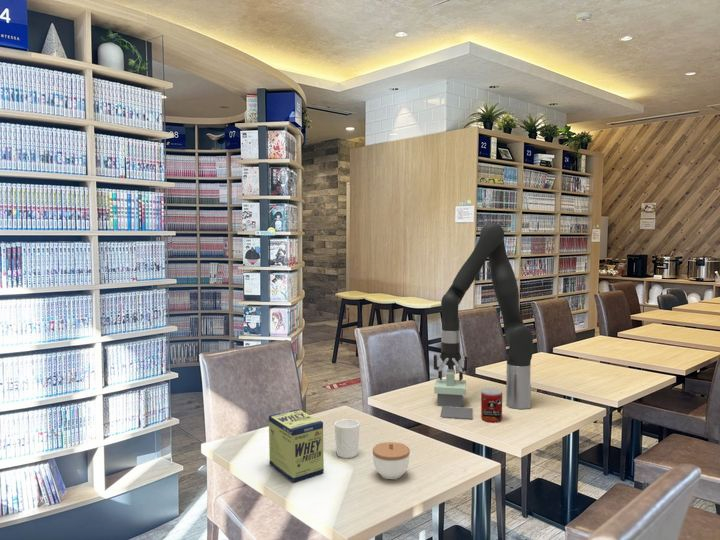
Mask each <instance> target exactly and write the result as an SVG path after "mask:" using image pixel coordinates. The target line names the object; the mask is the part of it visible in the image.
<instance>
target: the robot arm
mask: <svg viewBox="0 0 720 540" xmlns="http://www.w3.org/2000/svg"><path fill="white" fill-rule="evenodd" d="M487 260H488V262H489V271H490V272H489V273H490V278H491V283H492V287H493V291H494V293H495V298H496V299H497V300H496V301H497V304H498V306H499V309H500V313H501V317H502V322H503V330H504V336H505V339H506V341H507V342H508V355H507V356H506V385H505V386H506V393H505V394H506V398H505V399H506V400H505V401H506V402H505V403H506V404H505V405H506V406H507V407H509V408H511V409H517V410H526V409H532V408H531V407H532V406H531V405H532V404H531V403H532V402H531V401H532V398H531V397H532V394H531V393H532V384H531V364H532V363H531V362H532V359H533V346H534V337H533V335H534V334H533V333H532V330H531V329H530V328H529V327H527V326H526V325H525V323H524V320H523V317H522V314H521V311H520V292H519V286H518V282H517V279H516V274H515V272H514V269H513V267H512V263H511V261H510V260H509V257H508V254H507V250H506V243H505V230H504V228H503V227H502V226H501V224H498V223H495V222H488V223H486V224H484V225H483V226H482V228H481V229H480V232H479V239H478V240H477V243H476V245H475V247H474V249H473V251H472V252H471V253H470V255H469V257H468V258H467V259H466V261H464V263H463V264H462V266H461V268H460V269H459V270H458V272H457V274H456V275H455V277H454V278H453V280H452V284H451V285H450V287H448V289H447V291H446V292H445V294H444V295H443V296H442V298H441V299H440V300H441V302H440V306H441V307H440V308H441V315H442V316H441V317H442V320H441V335H440V336H441V337H440V338H441V339H440V341H441V344H440V345H441V348H440V350H441V353H440V354H436V353H434V355H433V370H436V371H437V372H438V373H437V374H438V375H437V377H438V378H437V379H440V380H442V379H443V368H444V367H445V366H451V367H452V366H453V367H454V366H456V368H457V370H458V374H459V375H458V376H459V377H458V378H459V379H458V380H459V381H461V380H464V379H463V376H464V372H467V371H468V355H466V354H465V355H461V333H460V318H459V305H460V304H461V301H462V300H463V298H464V297H465V294H466V293H467V291H468V290H469V289H470V288H471V286H472V285H473V282H474V281H475V280H476V278H477V276H478V274H479V273H480V271H481V269H482V267H483V266H484V264H485V262H486V261H487ZM439 359H441V361H442V362H441V364H440V365H439V366H438V361H439ZM460 360H462V361H463V362H464V363H463V366H462V365H461V364H460Z"/></svg>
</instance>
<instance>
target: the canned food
mask: <svg viewBox="0 0 720 540" xmlns="http://www.w3.org/2000/svg"><path fill="white" fill-rule="evenodd" d="M480 393H481V394H480V397H481V398H480V401H481V402H480V408H481V409H480V410H481V411H480V417H481V420H482V421H484V422H486V423H490V422H491V423H495V422H496V423H499V422H501V421H502V419H503V391H502V390H501V389H500V388H497V387H486V388H485V387H484V388H482V389H481V392H480Z"/></svg>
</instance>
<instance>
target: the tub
mask: <svg viewBox="0 0 720 540" xmlns="http://www.w3.org/2000/svg"><path fill="white" fill-rule="evenodd" d="M436 396H437V398H436V399H437V402H436V403H437V404H436V405H437V407H442V406H444V407H450V406H453V407H460V408H463V403H464V395H454V394H437V395H436Z"/></svg>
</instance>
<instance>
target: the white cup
mask: <svg viewBox="0 0 720 540" xmlns="http://www.w3.org/2000/svg"><path fill="white" fill-rule="evenodd" d="M334 437H335V439H334V440H335V447H336V449H335V450H336V455H337V456H338V457H339V458H343V459H352V458H354V457H357V456H358V455H359V454H358V453H359V443H360V442H359V441H360V439H359V438H360V421H358V420H357V419H351V418H345V419H339V420H337V421H335V422H334Z"/></svg>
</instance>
